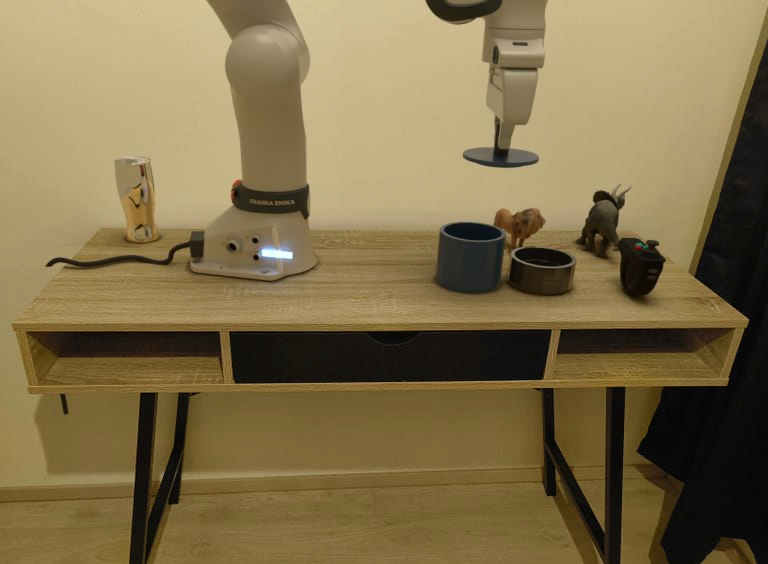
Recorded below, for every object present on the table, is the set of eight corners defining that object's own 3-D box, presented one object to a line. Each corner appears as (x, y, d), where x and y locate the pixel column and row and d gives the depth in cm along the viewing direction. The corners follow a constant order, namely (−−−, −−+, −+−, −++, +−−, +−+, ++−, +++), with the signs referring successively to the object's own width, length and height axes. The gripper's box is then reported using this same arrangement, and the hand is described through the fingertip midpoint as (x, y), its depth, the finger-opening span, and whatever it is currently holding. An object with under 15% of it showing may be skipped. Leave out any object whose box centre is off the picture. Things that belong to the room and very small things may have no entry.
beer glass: (133, 231, 137) (123, 155, 130) (166, 233, 136) (158, 157, 129) (118, 242, 131) (106, 162, 124) (152, 244, 130) (142, 165, 123)
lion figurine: (544, 254, 132) (552, 209, 128) (525, 259, 130) (532, 212, 125) (492, 233, 143) (498, 191, 139) (473, 237, 140) (478, 194, 136)
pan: (512, 294, 114) (516, 266, 111) (502, 271, 123) (506, 245, 121) (578, 297, 114) (583, 269, 111) (563, 273, 123) (567, 247, 121)
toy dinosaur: (615, 270, 126) (628, 210, 120) (569, 263, 128) (579, 204, 123) (620, 236, 144) (631, 183, 139) (579, 231, 146) (588, 178, 141)
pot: (438, 292, 114) (442, 240, 109) (433, 268, 123) (437, 220, 119) (503, 294, 114) (510, 243, 109) (494, 271, 123) (500, 222, 119)
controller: (632, 305, 111) (646, 247, 106) (606, 278, 122) (618, 223, 117) (658, 306, 111) (673, 247, 107) (630, 278, 122) (642, 224, 117)
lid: (466, 169, 103) (469, 130, 101) (458, 153, 114) (461, 117, 111) (545, 171, 103) (550, 132, 101) (530, 155, 114) (534, 119, 111)
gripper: (482, 45, 110) (473, 133, 117) (501, 54, 92) (490, 158, 99) (521, 46, 110) (510, 134, 117) (548, 55, 92) (533, 160, 99)
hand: (501, 146), depth 107 cm, fingers closed on lid, 2 cm apart
